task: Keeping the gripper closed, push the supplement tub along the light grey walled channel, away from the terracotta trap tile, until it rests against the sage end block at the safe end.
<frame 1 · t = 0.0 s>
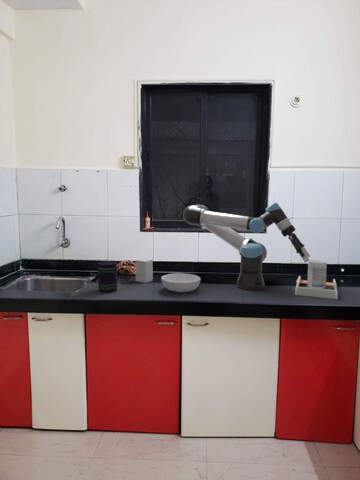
hand: (307, 259, 196), 15 cm above the counter, tool tilted 35°, fingers open, 13 cm apart
channel: (316, 288, 193), on the counter
supplement box: (144, 281, 207), on the counter
serving bowl: (180, 290, 188), on the counter
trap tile: (316, 283, 205), on the counter
storage jar: (107, 290, 186), on the counter
supplement tub: (316, 287, 196), resting in channel
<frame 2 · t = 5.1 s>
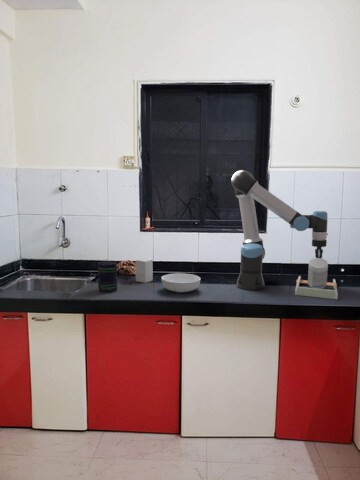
hand: (317, 280, 198), 3 cm above the counter, tool pointing down, fingers closed
supplement tub: (316, 284, 194), point 2 cm above the counter, touching gripper, hand
everything else where it was.
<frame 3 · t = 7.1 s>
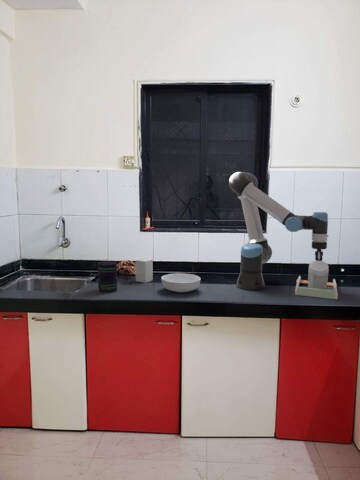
hand: (317, 284, 191), 3 cm above the counter, tool pointing down, fingers closed
supplement tub: (316, 288, 187), point 2 cm above the counter, touching gripper, hand
everything else where it was.
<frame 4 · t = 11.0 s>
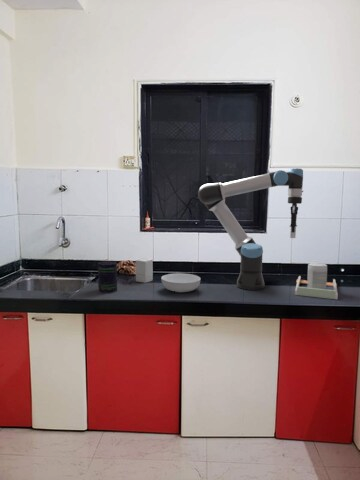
hand: (292, 237, 202), 26 cm above the counter, tool pointing down, fingers closed
supplement tub: (316, 291, 187), resting in channel
everything else where it was.
at the end: supplement tub inside the target area (3.2 cm from its centre), resting in channel; supplement tub tilted 0°; supplement tub moved 8.8 cm from its start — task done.
